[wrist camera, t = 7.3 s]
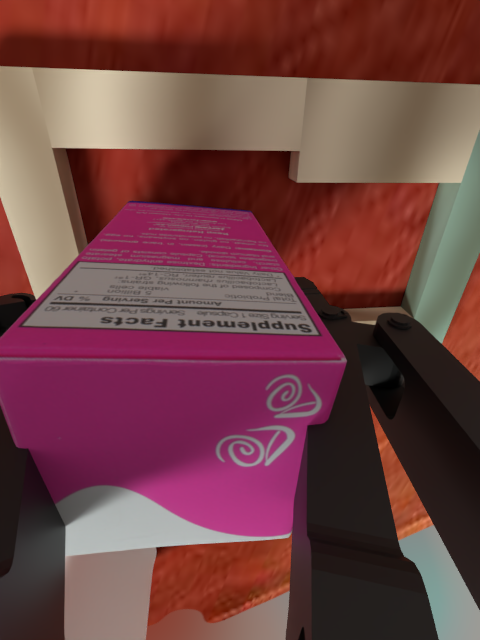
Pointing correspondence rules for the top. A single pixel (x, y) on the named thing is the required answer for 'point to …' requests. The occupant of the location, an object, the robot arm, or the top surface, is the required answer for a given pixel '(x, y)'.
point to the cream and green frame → (248, 134)
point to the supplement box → (170, 382)
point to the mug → (108, 594)
